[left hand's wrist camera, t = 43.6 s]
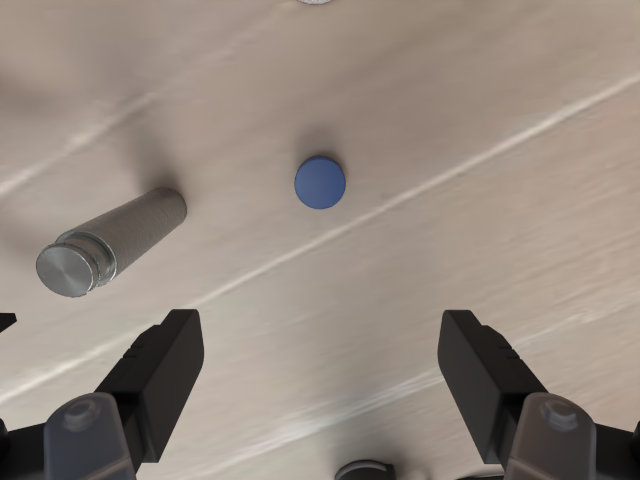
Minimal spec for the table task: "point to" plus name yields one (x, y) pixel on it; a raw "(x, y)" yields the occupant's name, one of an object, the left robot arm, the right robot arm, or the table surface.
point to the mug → (314, 1)
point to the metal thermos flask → (109, 243)
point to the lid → (319, 182)
